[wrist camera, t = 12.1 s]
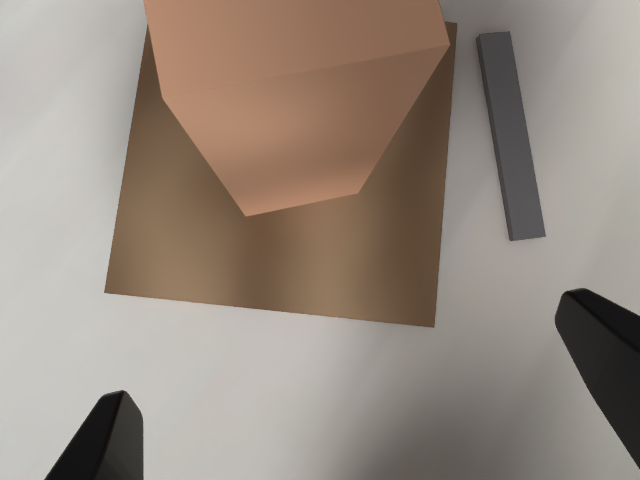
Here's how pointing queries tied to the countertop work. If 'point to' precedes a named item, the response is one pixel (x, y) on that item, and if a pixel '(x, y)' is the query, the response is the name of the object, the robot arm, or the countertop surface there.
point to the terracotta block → (293, 88)
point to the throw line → (510, 136)
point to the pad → (284, 222)
